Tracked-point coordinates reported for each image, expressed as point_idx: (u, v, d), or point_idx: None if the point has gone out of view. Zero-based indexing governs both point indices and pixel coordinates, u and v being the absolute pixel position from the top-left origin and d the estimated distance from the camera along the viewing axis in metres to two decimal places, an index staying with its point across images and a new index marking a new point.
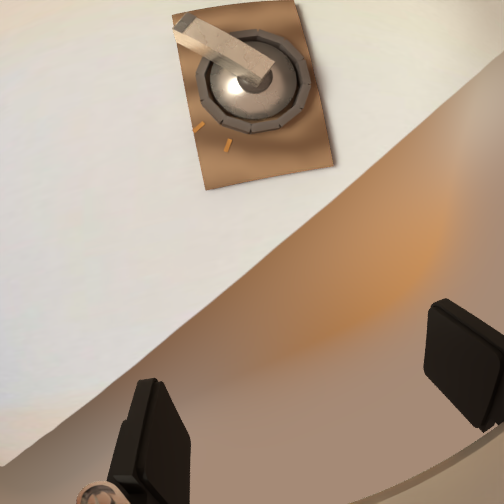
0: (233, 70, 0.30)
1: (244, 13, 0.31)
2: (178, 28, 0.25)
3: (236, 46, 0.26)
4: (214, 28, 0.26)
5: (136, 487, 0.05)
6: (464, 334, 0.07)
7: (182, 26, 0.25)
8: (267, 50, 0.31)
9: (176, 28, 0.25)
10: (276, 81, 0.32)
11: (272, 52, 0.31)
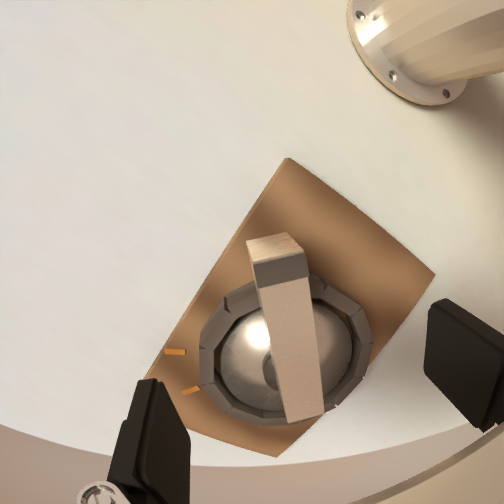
0: (272, 361, 0.19)
1: (373, 250, 0.22)
2: (262, 272, 0.15)
3: (305, 370, 0.16)
4: (309, 320, 0.16)
5: (136, 487, 0.05)
6: (464, 334, 0.07)
7: (270, 273, 0.15)
8: (339, 340, 0.22)
9: (258, 271, 0.14)
10: None
11: (342, 346, 0.22)
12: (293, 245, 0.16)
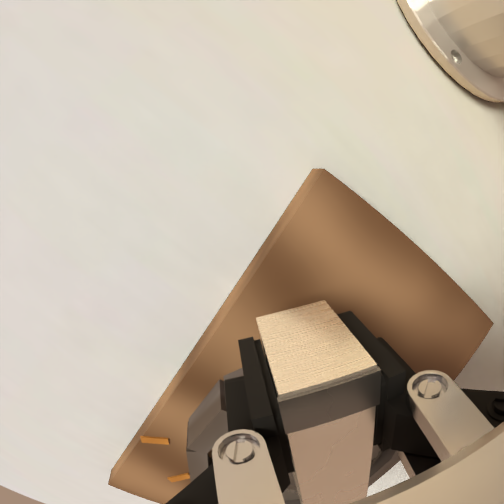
0: (293, 473, 0.11)
1: (431, 303, 0.14)
2: (296, 408, 0.07)
3: (346, 501, 0.08)
4: (365, 455, 0.08)
5: (269, 430, 0.07)
6: None
7: (310, 408, 0.07)
8: None
9: (288, 410, 0.06)
10: None
11: None
12: (351, 345, 0.08)
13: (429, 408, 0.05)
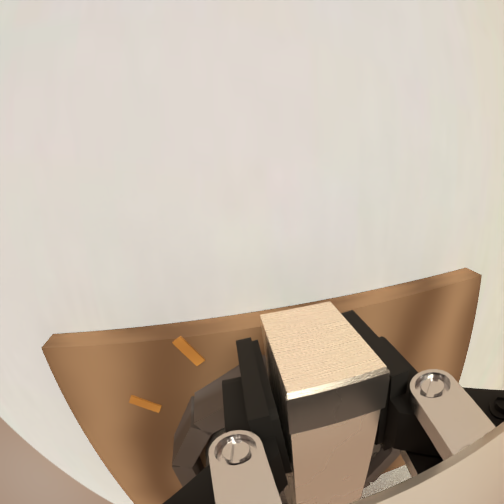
0: None
1: None
2: (303, 408, 0.06)
3: None
4: (364, 460, 0.07)
5: (266, 431, 0.07)
6: None
7: (317, 409, 0.07)
8: None
9: (296, 410, 0.06)
10: None
11: None
12: (359, 346, 0.07)
13: (431, 407, 0.05)
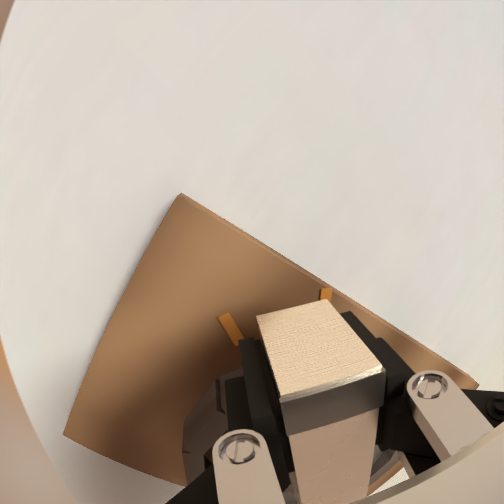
0: (291, 474, 0.11)
1: None
2: (298, 409, 0.06)
3: None
4: (366, 457, 0.07)
5: (269, 430, 0.07)
6: None
7: (313, 410, 0.07)
8: None
9: (290, 411, 0.06)
10: None
11: None
12: (354, 345, 0.07)
13: (429, 408, 0.05)
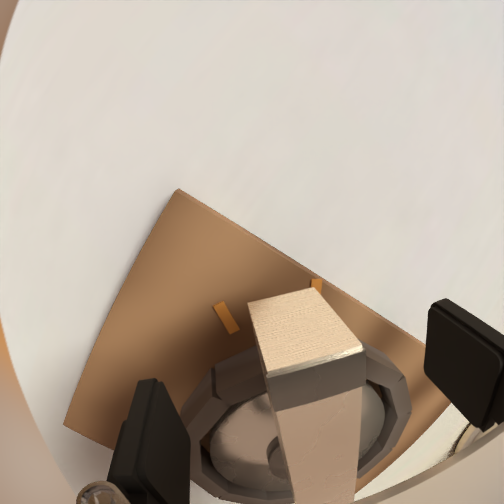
0: (284, 460, 0.12)
1: (384, 458, 0.19)
2: (284, 386, 0.07)
3: (335, 488, 0.09)
4: (353, 438, 0.08)
5: (136, 487, 0.05)
6: (464, 334, 0.07)
7: (298, 386, 0.07)
8: (370, 416, 0.15)
9: (277, 387, 0.07)
10: None
11: (372, 421, 0.15)
12: (337, 327, 0.08)
13: None
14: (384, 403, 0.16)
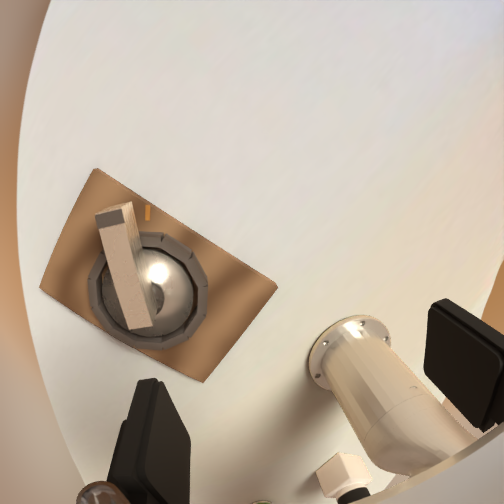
0: None
1: (220, 339, 0.36)
2: (100, 220, 0.24)
3: (131, 286, 0.26)
4: (128, 251, 0.25)
5: (136, 487, 0.05)
6: (464, 334, 0.07)
7: (104, 220, 0.24)
8: (181, 282, 0.32)
9: (97, 219, 0.24)
10: (162, 313, 0.32)
11: (184, 287, 0.32)
12: (121, 206, 0.25)
13: None
14: None
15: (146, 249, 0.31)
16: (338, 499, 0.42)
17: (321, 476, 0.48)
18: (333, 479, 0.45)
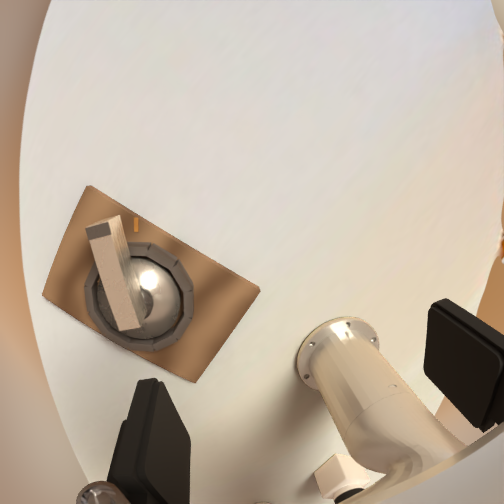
0: None
1: (209, 341, 0.38)
2: (90, 232, 0.27)
3: (120, 291, 0.28)
4: (116, 260, 0.28)
5: (136, 487, 0.05)
6: (464, 334, 0.07)
7: (93, 233, 0.27)
8: (168, 288, 0.34)
9: (87, 231, 0.26)
10: (152, 317, 0.35)
11: (171, 292, 0.34)
12: (108, 219, 0.28)
13: None
14: None
15: (135, 258, 0.33)
16: (335, 500, 0.42)
17: (319, 477, 0.48)
18: (330, 480, 0.45)
